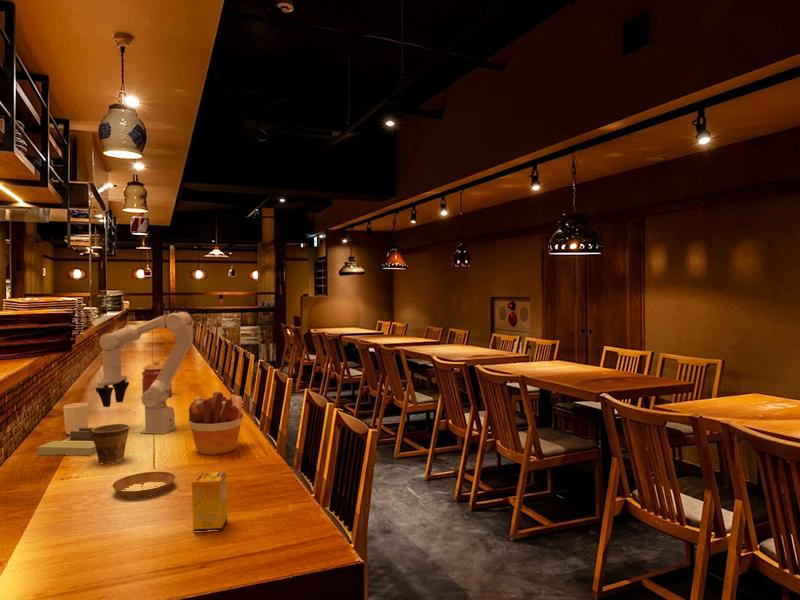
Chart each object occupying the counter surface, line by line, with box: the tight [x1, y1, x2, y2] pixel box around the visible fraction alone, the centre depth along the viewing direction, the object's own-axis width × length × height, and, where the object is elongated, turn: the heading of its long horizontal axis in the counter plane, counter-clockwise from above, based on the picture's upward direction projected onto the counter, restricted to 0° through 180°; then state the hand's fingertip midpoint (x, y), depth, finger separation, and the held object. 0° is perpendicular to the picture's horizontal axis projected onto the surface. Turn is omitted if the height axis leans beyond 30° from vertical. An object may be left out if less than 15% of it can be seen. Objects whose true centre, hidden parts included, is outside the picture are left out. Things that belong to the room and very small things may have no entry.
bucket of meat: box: [188, 390, 243, 456], centre depth 178 cm, size 20×16×20 cm
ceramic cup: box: [90, 423, 130, 465], centre depth 169 cm, size 13×10×10 cm
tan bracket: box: [37, 437, 97, 456], centre depth 182 cm, size 18×13×3 cm
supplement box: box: [191, 471, 228, 532], centre depth 122 cm, size 6×6×11 cm
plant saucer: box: [111, 471, 177, 498], centre depth 145 cm, size 15×15×3 cm
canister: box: [141, 359, 173, 398], centre depth 267 cm, size 13×13×18 cm
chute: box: [69, 427, 95, 441], centre depth 186 cm, size 8×5×5 cm, turn 83°
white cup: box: [62, 402, 89, 435], centre depth 203 cm, size 8×8×10 cm
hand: (113, 404), depth 203 cm, fingers open, 7 cm apart
